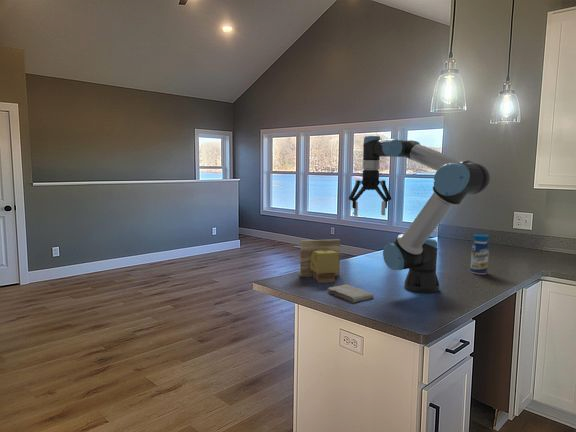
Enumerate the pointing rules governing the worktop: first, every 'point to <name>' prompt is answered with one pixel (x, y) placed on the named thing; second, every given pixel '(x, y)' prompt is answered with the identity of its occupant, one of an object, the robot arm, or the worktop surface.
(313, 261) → the cheese
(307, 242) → the wall board
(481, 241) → the beverage bottle
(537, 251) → the worktop surface
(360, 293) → the washcloth
